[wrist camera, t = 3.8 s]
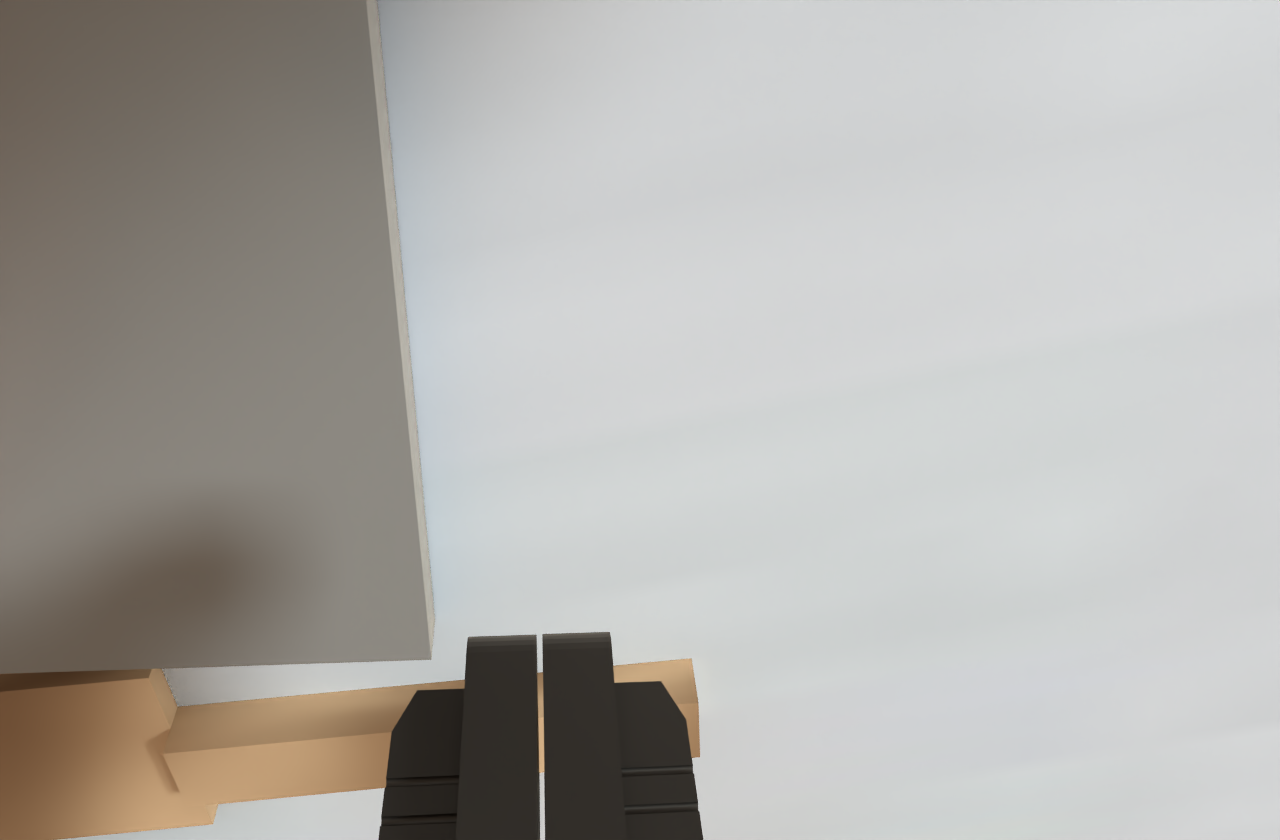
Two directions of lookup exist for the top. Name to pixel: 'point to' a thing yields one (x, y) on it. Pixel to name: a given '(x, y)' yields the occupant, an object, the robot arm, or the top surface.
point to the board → (203, 341)
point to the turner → (204, 747)
